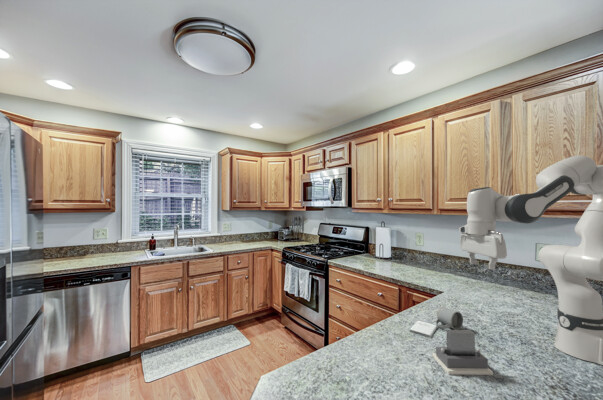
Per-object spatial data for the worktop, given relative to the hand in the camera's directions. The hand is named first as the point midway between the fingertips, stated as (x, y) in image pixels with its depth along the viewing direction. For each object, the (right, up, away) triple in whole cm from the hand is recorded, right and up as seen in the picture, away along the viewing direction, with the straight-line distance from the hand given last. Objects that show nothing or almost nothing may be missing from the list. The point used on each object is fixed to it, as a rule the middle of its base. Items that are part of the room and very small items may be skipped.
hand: (481, 266), depth 95 cm
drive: (-14, -30, -10) cm, 34 cm away
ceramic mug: (-2, -32, +18) cm, 37 cm away
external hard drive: (-15, -33, +15) cm, 39 cm away
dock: (-14, -31, -10) cm, 35 cm away
